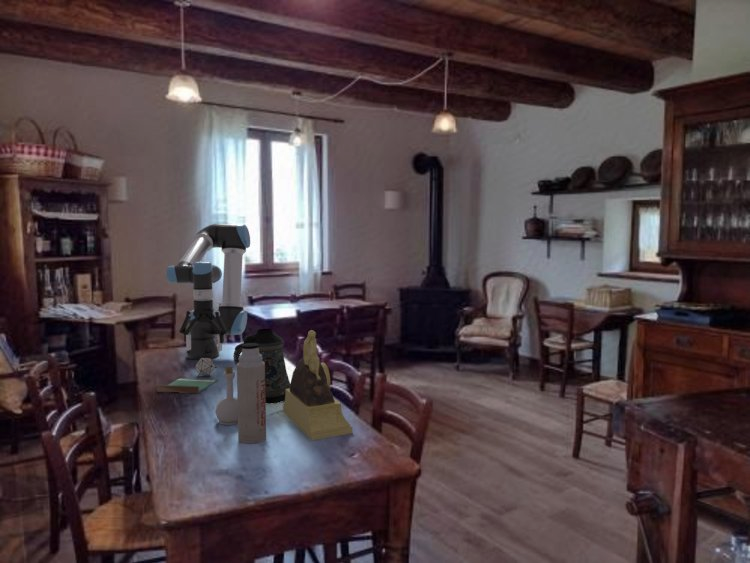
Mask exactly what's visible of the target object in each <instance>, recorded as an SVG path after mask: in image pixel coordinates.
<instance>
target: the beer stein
mask: <svg viewBox="0 0 750 563" xmlns="http://www.w3.org/2000/svg"><path fill="white" fill-rule="evenodd" d="M246 343H257V344H259V347H258V348H259V353H260V354H261V355H262V358H263V359H262V361H263V362H264V363H265V398H266V405H269V404H270V405H271V403H273V404H279V403H282V401H283V402H285V395H286V389H290V385H291V380H290V379H289V376H288V371H287V368H286V360H285V356H284V350H283V348H284V344H285V341H284V339H283V338H282V337H281V336H279V334H277V333H275V332H274V331H273V329H272V328H260V329H257V332H255V333H252V334H248V335H246V336H244V337H243V342H241V343H239V344H237V345H236V346H235V347H234V352H233V361H234V364H235V367H237V363H239V359H238V358H239V356H240V355H241V354H242V348H241V345H242V344H246ZM278 402H279V403H278Z"/></svg>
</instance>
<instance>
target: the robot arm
mask: <svg viewBox="0 0 750 563" xmlns="http://www.w3.org/2000/svg"><path fill="white" fill-rule="evenodd" d="M250 235H251V234H250V231H249V228H248V226H247V225H246V224H243V223H213V224H209V225H207V226H205V227H203V228H202V229H200V230H199V231H198V232H197V233H196V234H195V235H194V237H193V239H192V243H191V245H190V246H189V247H188V248H187V250H186V252H185V253H184V255H183V256H182V257H181V259H180V260H179V262H178V263H177V264H173V265H169V266H167V268H166V271H165V276H166V280H167V282H168V283H171V284H193V285H192V287H193V288H192V292H193V309H192V310H188V311H186V312H185V313H186V314H185V318H184V320H183V323H182V325H181V327H180V328H179V333H180V334H182V335H183V340H184V343H185V345H186V353H185V356H186V359H188V358H189V360H200V359H201V358H211V357H212V359H214V358H217V357H219V356H220V352H221V351H223V344H224V343H225V336H235V335H236V336H238V335H242V334H243V333H244V332H245V330H246V326H247V323H248V322H247V321H248V313H247V310H245V309H244V306H243V305H242V304H241V298H242V278H243V277H242V276H243V257H244V256H243V255H244V254H246V252H247V249H248V248H250V247H251V236H250ZM214 248H220V249H221V252H222V253H223V255H224V256H223V257H224V258H223V259H224V260H223V271H222V269H221V268H220V267H219V266H218V265H215V264H212V262H211V261H202V260H203V258H204V257H205V255H206V254H207V252H209V251H211V250H212V249H214ZM222 278H223V279H222ZM221 279H222V294H221V295H222V296H221V304H219V305H218V310H216V309H215V307H214V305H213V304H214V302H213V297H214V296H213V294H214V293H213V284H215V283H217V282H219V281H220V280H221ZM216 338H217V342H216ZM200 356H201V358H200Z"/></svg>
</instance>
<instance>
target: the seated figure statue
mask: <svg viewBox="0 0 750 563" xmlns="http://www.w3.org/2000/svg"><path fill="white" fill-rule="evenodd" d="M316 335H317V332H316V331H314V330H312V329H311V330H309V331H308V333H307V336H306V338H305V340H304V343H303V348H302V349H303V351H302V352H303V357H302V358H301V359H300V360H298V362H297V364H296V366H295V368H294V370H292V371H293V372H292V376H291V380H290V384H291V385H290V389H286V395H285V401H284V403H283V405H282V406H283V407H282V412H283V414H284V415H286V416H287V418H289V419H290V421H291V422H293V423H294V424H295V425H296V426H297V427H298V428H299V429H300V430H301V432H303V434H305V436H307V437H308V438H309V439H310V440H311V441H316V440H322V439H326V438H333V437H337V436H338V437H340V436H344V435H350V434H353V426H352V425H351V424H350V423H349V421H347V420H346V418H345V416H344V414H343V412H342V411H343V410H342V402H340V401H339V400H338V399H336V398H335V397H334V394H333V392H332V391H331V374H330V370H329V367H328V366H327V364H326V363H325V362H321V361H320V357H319V356H318V354H317V347H318V346H317V339H316Z"/></svg>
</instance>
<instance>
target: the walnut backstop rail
mask: <svg viewBox="0 0 750 563" xmlns="http://www.w3.org/2000/svg"><path fill="white" fill-rule="evenodd" d="M156 392H157V393H171V392H179V393H178V394H194V393H195V395H196V394H197V395H198V394H200V392H199V386H176V385H169V384H158V385H156Z"/></svg>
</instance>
